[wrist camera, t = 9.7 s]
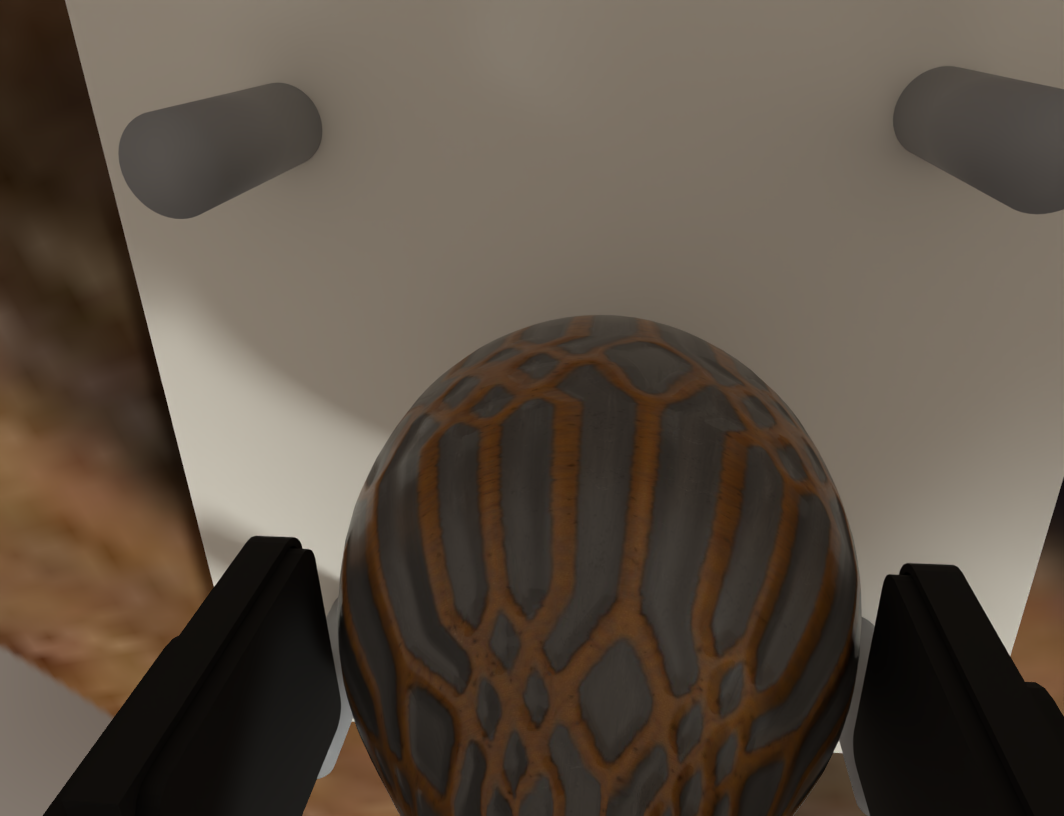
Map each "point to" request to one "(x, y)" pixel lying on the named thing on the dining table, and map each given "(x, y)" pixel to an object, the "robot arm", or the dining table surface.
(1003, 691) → the robot arm
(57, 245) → the dining table surface
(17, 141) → the dining table surface
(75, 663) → the dining table surface
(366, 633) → the vase
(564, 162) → the stand
